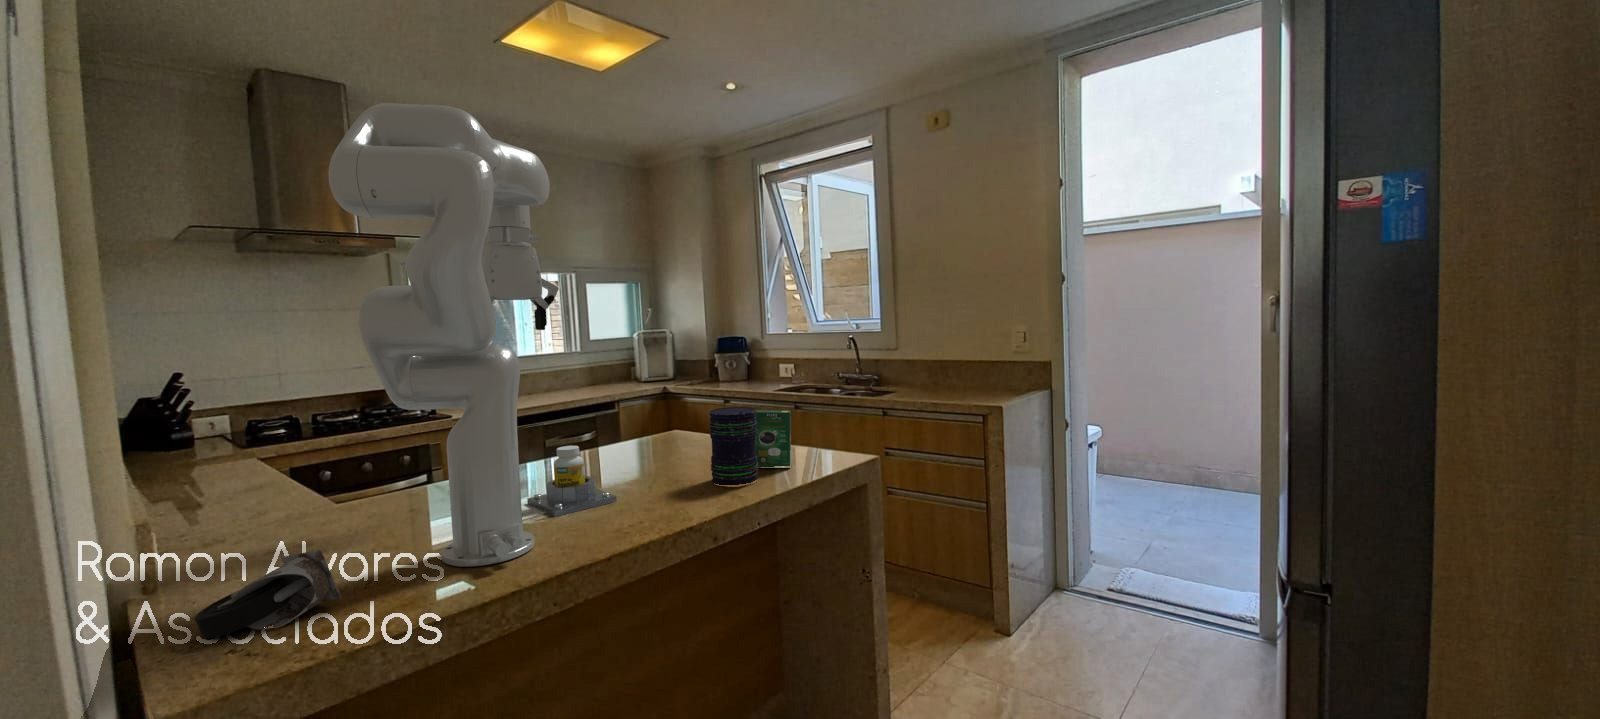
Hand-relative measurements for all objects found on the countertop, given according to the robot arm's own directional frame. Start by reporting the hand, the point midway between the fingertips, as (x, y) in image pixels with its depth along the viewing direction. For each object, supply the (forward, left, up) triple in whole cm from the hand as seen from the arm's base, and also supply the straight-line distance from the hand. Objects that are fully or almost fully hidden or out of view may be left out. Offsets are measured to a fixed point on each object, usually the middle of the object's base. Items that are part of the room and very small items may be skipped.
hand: (514, 330), depth 120 cm
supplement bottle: (-8, -6, -32) cm, 34 cm away
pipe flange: (-8, -6, -33) cm, 34 cm away
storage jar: (-20, -36, -33) cm, 53 cm away
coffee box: (-18, -49, -33) cm, 62 cm away
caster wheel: (-27, +41, -33) cm, 59 cm away
